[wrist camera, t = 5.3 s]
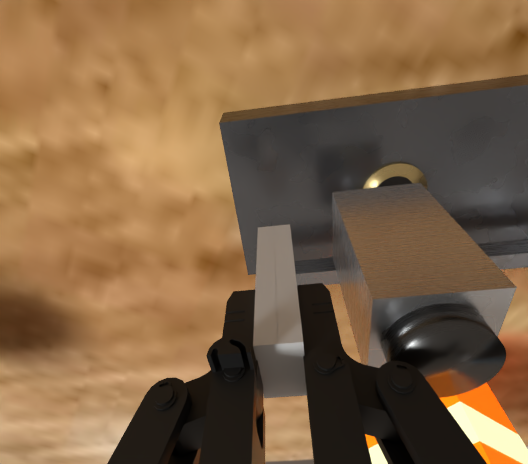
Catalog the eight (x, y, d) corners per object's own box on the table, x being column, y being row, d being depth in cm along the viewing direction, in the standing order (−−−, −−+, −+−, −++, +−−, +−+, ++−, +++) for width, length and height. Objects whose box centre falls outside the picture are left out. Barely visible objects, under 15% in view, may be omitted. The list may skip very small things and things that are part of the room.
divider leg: (402, 163, 17) (541, 313, 9) (395, 227, 19) (500, 400, 11) (324, 171, 18) (382, 326, 9) (326, 234, 20) (374, 408, 11)
